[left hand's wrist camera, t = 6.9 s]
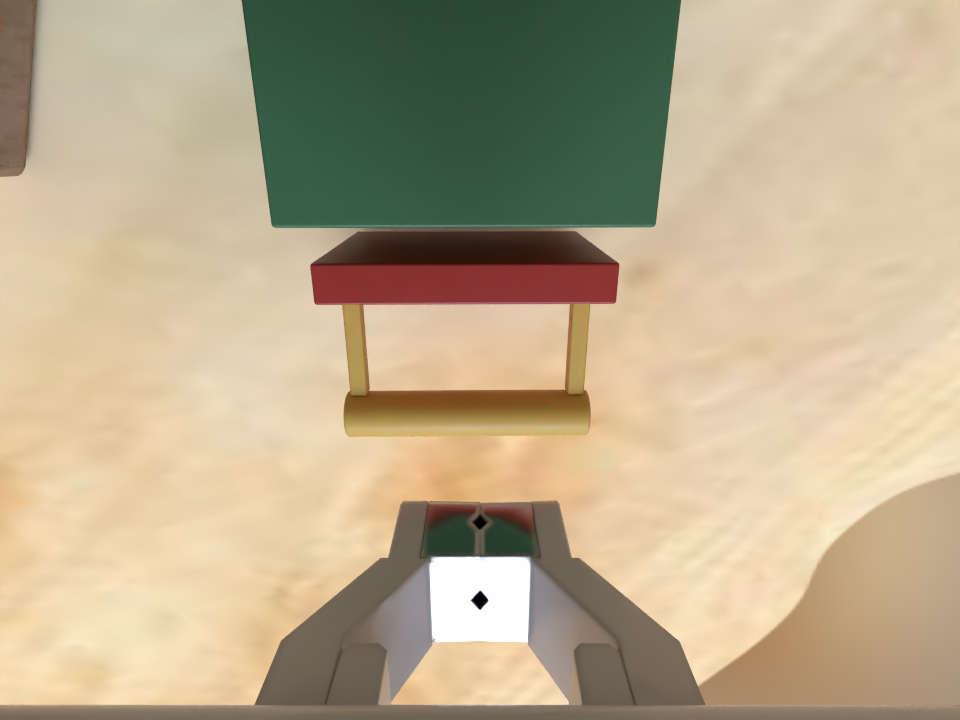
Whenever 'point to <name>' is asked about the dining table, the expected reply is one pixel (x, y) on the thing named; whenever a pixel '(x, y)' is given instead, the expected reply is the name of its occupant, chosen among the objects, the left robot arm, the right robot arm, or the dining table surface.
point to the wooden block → (15, 82)
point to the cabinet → (462, 111)
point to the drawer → (465, 280)
